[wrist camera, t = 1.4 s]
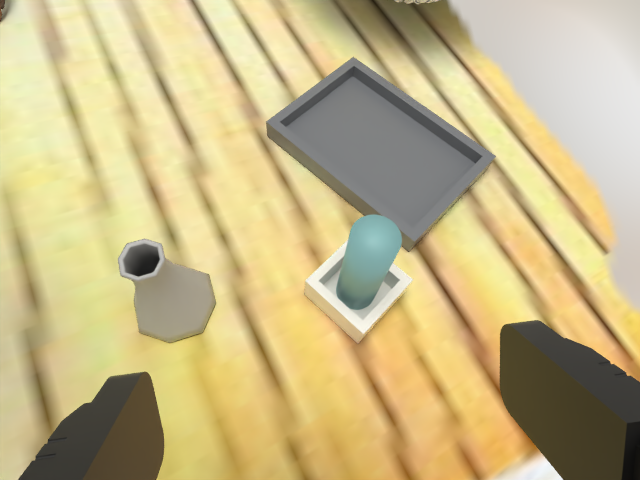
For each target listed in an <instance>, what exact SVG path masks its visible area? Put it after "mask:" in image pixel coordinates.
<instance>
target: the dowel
mask: <svg viewBox="0 0 640 480" xmlns="http://www.w3.org/2000/svg"><path fill="white" fill-rule="evenodd" d="M401 244H402V236H401V233H400V230H399V228H398V227H397V225H396V224H395V223H394V222H393V221H391V220H390V219H388V218H387V217H384V216H381V215H367V216H364V217H361V218H360V219H358V220H357V221H356V222H355V223H354V225H353V226H352V228H351V231H350V235H349V239H348V243H347V247H346V251H345V255H344V258H343V262H342V266H341V270H340V274H339V278H338V282H337V286H336V294H337V297H338V299H339V300H340V301H342V302H343V303H344V304H345V305H346V306H347V307H348V308H349V309H353V310H360V309H364V308H366V307H368V306H369V305H370V304H371V303H372V301H373V300H374V298H375V296H376V294H377V292H378V290H379V288H380V286H381V284H382V282H383V280H384V278H385V277H386V275H387V273H388V271H389V269H390V267H391V265H392V263H393V261H394V259H395V257H396V255H397V253H398V251H399V250H400V247H401Z"/></svg>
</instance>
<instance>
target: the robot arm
mask: <svg viewBox="0 0 640 480" xmlns="http://www.w3.org/2000/svg"><path fill="white" fill-rule="evenodd" d="M500 391H501V395H502V399H503V402H504V404H505V407H506V409H507V410H508V412H509V413H510V415H511V416H512V417H513V418H514V420H515V421H516V422H517V423H518V425H519V426H520V427H521V428H522V429H523V431H524V432H525V433H526V434H527V436H528V437H529V438H530V439H531V440H532V442H533V443H534V444H535V445H536V447H537V448H538V449H539V450H540V451H541V453H542V454H543V455H544V456H545V458H546V459H547V460H548V461H549V462H550V464H551V465H552V466H553V467H554V469H555V470H556V471H557V472H558V474H559V475H560V476H561V477H562V478H563V480H640V382H639V381H637V380H636V379H634V378H633V377H632V376H627V375H626V372H624V371H623V370H622V369H620V368H619V367H617V366H616V365H614V364H610V361H609V360H607V359H606V358H604V357H603V356H601V355H600V354H599V353H597V352H596V351H594V350H593V349H591V348H589V347H587V346H584V345H582V344H579V343H577V342H574V341H572V340H569V339H567V338H565V339H564V338H563V337H561V336H560V335H559V334H557V333H556V332H555V331H553V330H552V329H550V328H549V327H548V326H546V325H545V324H544V323H542V322H541V321H538V320H534V321H527V322H520V323H512V324H506V325H504V326H503V327H502V329H501V333H500ZM163 455H164V434H163V429H162V424H161V420H160V415H159V411H158V406H157V401H156V397H155V392H154V388H153V383H152V380H151V377H150V375H149V374H148V373H147V372H140V373H132V374H125V375H118V376H111V377H109V378H108V379H107V381H106V382H105V383H104V385H103V386H102V388H101V389H100V391H99V392H98V394H97V395H96V397H95V398H94V399H93V401H92V402H91V403H85V404H83V405H82V406H80V407H79V408H78V409H77V410H75V411H74V412H73V413H71V414H70V415H69V416H68V417H66V418H65V419H64V420H63V421H62V422H61V423H60V424H59V426H58V427H57V428H56V430H55V431H54V432H53V434H52V435H51V436H50V438H49V439H48V443H47V444H44V446H43V447H42V448H41V450H40V451H39V453H38V454H37V455H36V459H35V461H32V462H31V463H30V465H29V466H28V467H27V469H26V470H25V471H24V473H23V474H22V475H21V477H20V478H19V479H18V480H156V479H157V476H158V473H159V470H160V467H161V464H162V461H163Z"/></svg>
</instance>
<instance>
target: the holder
mask: <svg viewBox="0 0 640 480" xmlns="http://www.w3.org/2000/svg"><path fill="white" fill-rule="evenodd" d="M347 243H348V240H347V241H346V242H345V243H344V244H343V245H342V246H341V247H340V248H339V249H338V250H337V251H336V252H335V253H334V254H333V255H332V256H330V257H329V258H328V259H327V260H326V261H325V262H324V263H323V264H322V265H321V266H320V267H319V268H318V269H317V270H316V271H315V272H314V273H313V274H312V275H311V276H310V277H309V278H308V279H307V280H306V281H305V293H304V294H305V295H306V296H307V297H308V298H309V299H310V300H311V301H312V302H313V303H314V304H315V305H317V306H318V307H319V308H320V309H321V310H322V311H323V312H324V313H325V314H326V315H327V316H328V317H329V318H331V319H332V320H333V321H334V322H335V323H336V324H337V325H338V326H339V327H340V328H341V329H342V330H343V331H345V332H346V333H347V334H348V335H349V336H350V337H351V338H352V339H353V340H354V341H355V342H356V343H357V344H358V343H359V342H360V341H361V340H362V339H363V338H364V337H365V336H366V334H367V333H368V332H369V331H370V330H371V329H372V328H373V327H374V326H375V325H376V323H377V322H378V321H379V320H380V319H381V318H382V317H383V316H384V315H385V313H386V312H387V311H388V310H389V309H390V308H391V307H392V306H393V305H394V304H395V302H396V301H397V300H398V299H399V298H400V297H401V296H402V295H403V294H404V292H405V291H406V289H407V288H408V286H409V285H410V284H411V282H412V281H413V279H412V278H410V277H409V276H408V275H407V274H406V273H404V272H403V271H402V270H401V269H400V268H398V267H397V266H396V265H395V264H394V263H392V265H391V267H390V269H389V271H388V273H387V275H386V277H385V278H384V280H383V282H382V284H381V286H380V288H379V290H378V292H377V294H376V296H375V298H374V300H373V301H372V303H371V304H370V305H369V306H368V307H366V308H364V309H360V310H353V309H349V308H348V307H347V306H346V305H345V304H344V303H343V302H342V301H340V300H339V299H338V297H337V294H336V286H337V282H338V278H339V274H340V270H341V266H342V262H343V258H344V255H345V251H346V247H347Z"/></svg>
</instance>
